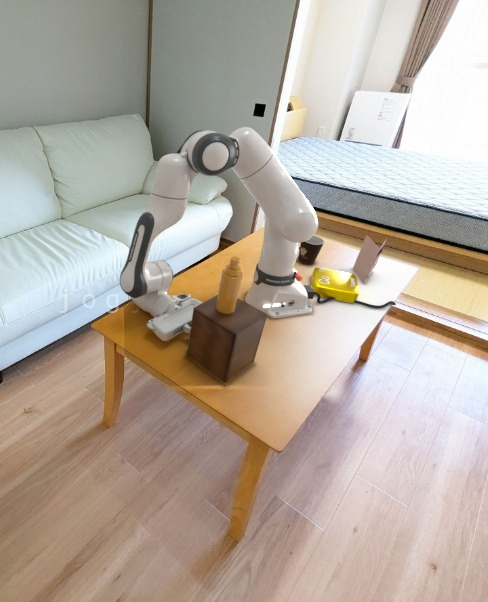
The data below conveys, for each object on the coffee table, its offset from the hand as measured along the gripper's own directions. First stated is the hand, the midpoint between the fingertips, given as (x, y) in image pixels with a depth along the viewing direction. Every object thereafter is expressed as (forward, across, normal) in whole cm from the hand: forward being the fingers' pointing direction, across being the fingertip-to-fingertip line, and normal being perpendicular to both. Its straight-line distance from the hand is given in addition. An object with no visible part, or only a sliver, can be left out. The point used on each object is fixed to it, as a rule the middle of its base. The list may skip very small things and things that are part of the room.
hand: (200, 332), depth 110 cm
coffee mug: (-8, +76, +6) cm, 77 cm away
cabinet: (+8, 0, +5) cm, 10 cm away
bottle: (+7, 0, -13) cm, 15 cm away
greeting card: (+13, +82, +6) cm, 83 cm away
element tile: (+11, +63, +6) cm, 64 cm away
